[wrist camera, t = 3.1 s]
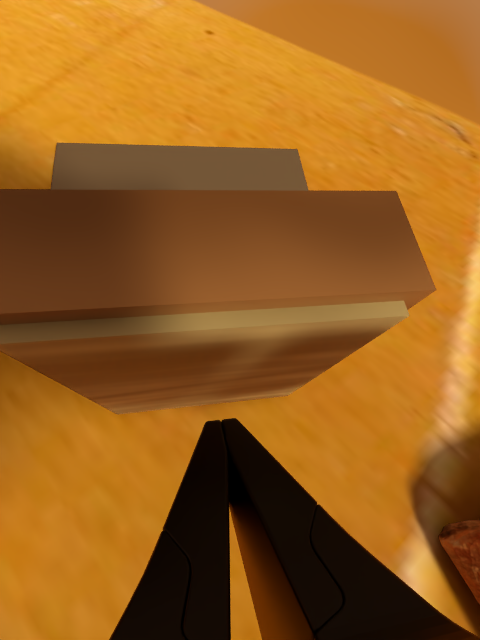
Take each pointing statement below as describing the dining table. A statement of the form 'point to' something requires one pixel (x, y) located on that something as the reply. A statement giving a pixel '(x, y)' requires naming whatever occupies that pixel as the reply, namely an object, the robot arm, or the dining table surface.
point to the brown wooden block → (200, 288)
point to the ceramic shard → (464, 551)
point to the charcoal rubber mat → (175, 168)
